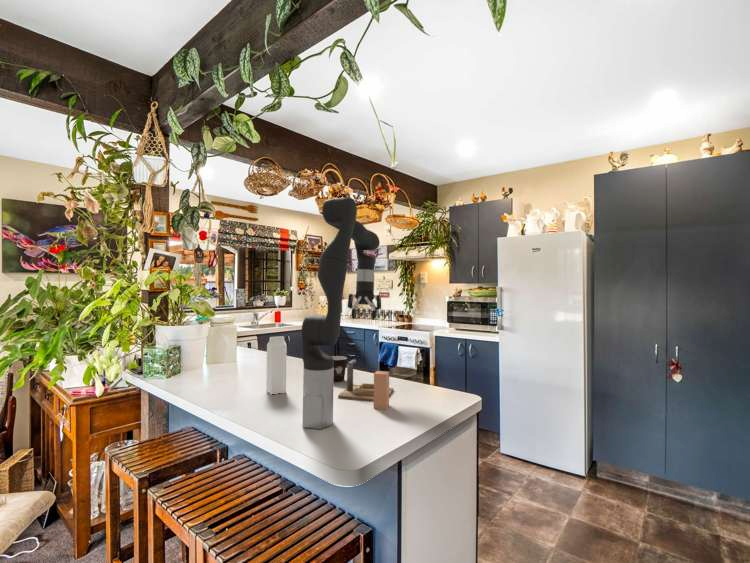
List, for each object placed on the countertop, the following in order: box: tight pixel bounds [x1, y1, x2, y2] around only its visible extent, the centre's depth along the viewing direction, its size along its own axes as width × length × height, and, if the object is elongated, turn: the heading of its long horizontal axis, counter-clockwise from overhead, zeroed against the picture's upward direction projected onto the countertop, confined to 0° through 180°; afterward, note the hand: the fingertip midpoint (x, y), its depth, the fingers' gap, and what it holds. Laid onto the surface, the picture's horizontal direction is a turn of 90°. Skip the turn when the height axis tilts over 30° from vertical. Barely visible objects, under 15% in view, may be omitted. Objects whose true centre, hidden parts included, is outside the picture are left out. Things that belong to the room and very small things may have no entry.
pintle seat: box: [337, 359, 394, 402], centre depth 146 cm, size 16×18×12 cm
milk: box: [265, 335, 288, 396], centre depth 148 cm, size 6×6×22 cm
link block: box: [373, 370, 390, 410], centre depth 132 cm, size 4×4×12 cm
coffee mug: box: [331, 355, 348, 383], centre depth 167 cm, size 12×9×10 cm
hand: (363, 319), depth 158 cm, fingers open, 8 cm apart
